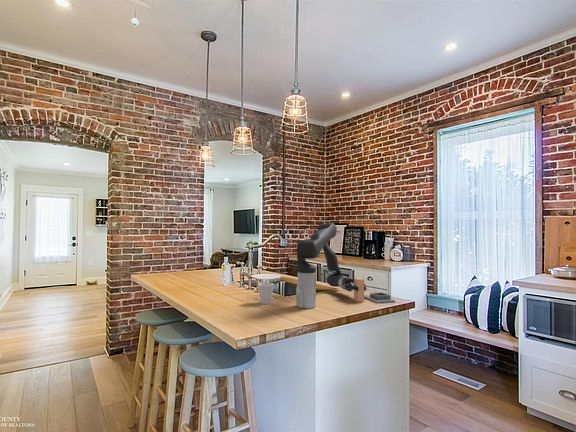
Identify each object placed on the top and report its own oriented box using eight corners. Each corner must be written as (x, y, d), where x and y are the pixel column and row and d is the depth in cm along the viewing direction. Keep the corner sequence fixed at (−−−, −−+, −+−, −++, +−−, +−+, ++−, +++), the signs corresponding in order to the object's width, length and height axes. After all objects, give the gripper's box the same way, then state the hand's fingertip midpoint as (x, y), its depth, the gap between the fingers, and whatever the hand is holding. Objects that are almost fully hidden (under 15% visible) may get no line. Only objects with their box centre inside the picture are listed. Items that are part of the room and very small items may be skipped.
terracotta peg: (357, 302, 178) (357, 279, 179) (354, 300, 182) (354, 278, 183) (364, 301, 180) (364, 279, 180) (360, 299, 183) (360, 278, 184)
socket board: (377, 303, 176) (377, 297, 176) (362, 297, 190) (362, 292, 190) (395, 302, 179) (395, 296, 179) (379, 296, 193) (379, 291, 193)
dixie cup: (274, 301, 178) (274, 282, 179) (272, 304, 170) (272, 285, 170) (259, 300, 179) (259, 282, 180) (256, 304, 171) (256, 284, 171)
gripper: (336, 277, 193) (349, 282, 176) (358, 276, 197) (373, 281, 180) (336, 290, 193) (349, 296, 176) (358, 289, 197) (373, 295, 180)
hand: (361, 288), depth 178 cm, fingers closed on terracotta peg, 4 cm apart
